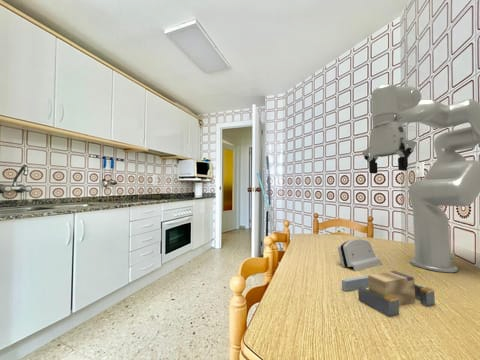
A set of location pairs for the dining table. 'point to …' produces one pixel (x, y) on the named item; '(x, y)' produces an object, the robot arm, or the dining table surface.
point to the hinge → (357, 254)
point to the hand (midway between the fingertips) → (387, 171)
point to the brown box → (394, 286)
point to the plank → (355, 283)
